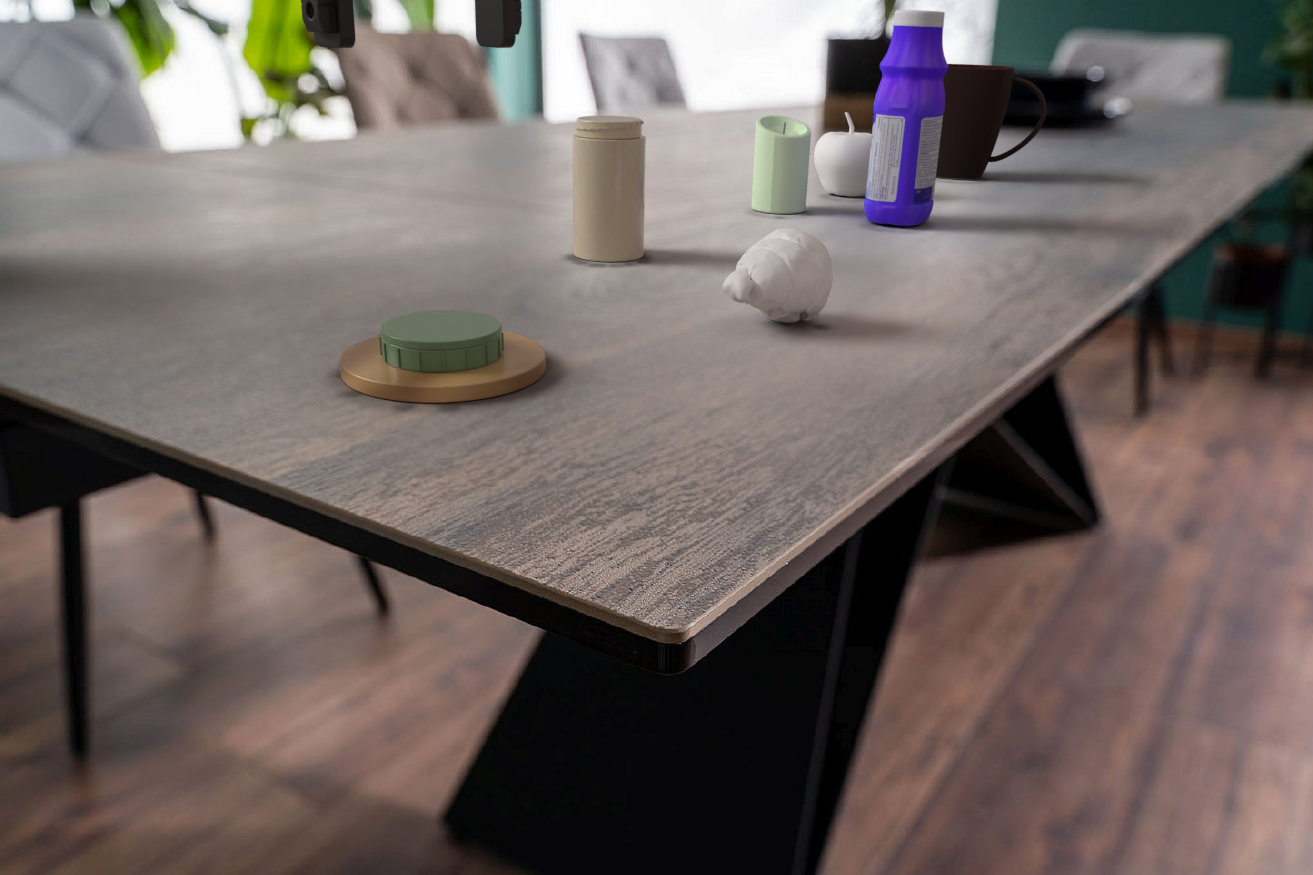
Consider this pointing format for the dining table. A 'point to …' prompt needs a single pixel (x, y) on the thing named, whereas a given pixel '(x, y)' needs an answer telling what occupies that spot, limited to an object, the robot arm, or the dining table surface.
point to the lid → (441, 341)
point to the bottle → (907, 121)
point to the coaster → (443, 374)
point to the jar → (608, 188)
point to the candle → (780, 165)
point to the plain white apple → (843, 161)
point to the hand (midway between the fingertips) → (420, 47)
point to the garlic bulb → (783, 276)
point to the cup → (977, 118)
